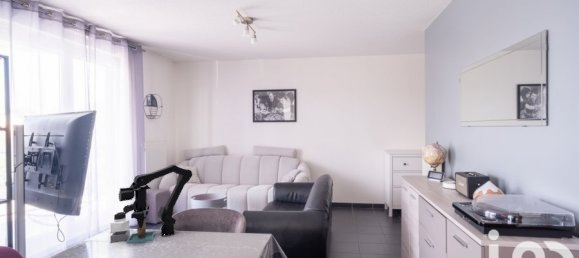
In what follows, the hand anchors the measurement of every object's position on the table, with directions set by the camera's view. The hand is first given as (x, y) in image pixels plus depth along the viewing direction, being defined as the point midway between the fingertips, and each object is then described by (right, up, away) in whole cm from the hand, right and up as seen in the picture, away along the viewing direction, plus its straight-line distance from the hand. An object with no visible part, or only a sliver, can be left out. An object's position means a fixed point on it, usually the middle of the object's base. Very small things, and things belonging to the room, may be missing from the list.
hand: (141, 226), depth 157 cm
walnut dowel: (0, -6, 0) cm, 6 cm away
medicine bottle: (-20, -9, +14) cm, 25 cm away
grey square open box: (-11, -8, -1) cm, 14 cm away
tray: (0, -8, 0) cm, 8 cm away
